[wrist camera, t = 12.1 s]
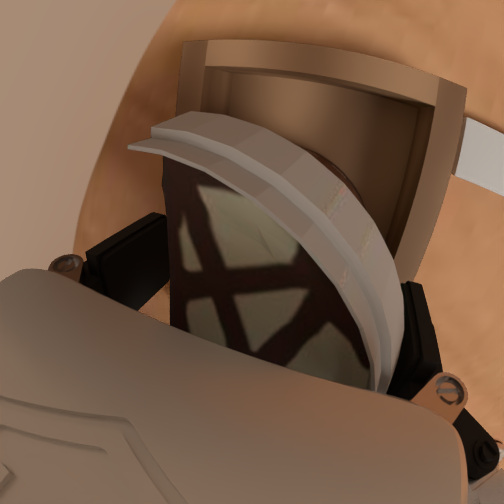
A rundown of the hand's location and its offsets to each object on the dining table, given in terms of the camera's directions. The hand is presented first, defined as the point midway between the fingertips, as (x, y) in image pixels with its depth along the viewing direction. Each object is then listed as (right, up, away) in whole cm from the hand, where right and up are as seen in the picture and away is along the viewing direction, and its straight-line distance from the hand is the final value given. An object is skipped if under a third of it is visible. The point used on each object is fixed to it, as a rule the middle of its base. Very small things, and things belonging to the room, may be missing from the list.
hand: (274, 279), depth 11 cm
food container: (+3, +1, +4) cm, 5 cm away
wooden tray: (+2, +2, +5) cm, 6 cm away
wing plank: (+14, +5, -1) cm, 15 cm away
